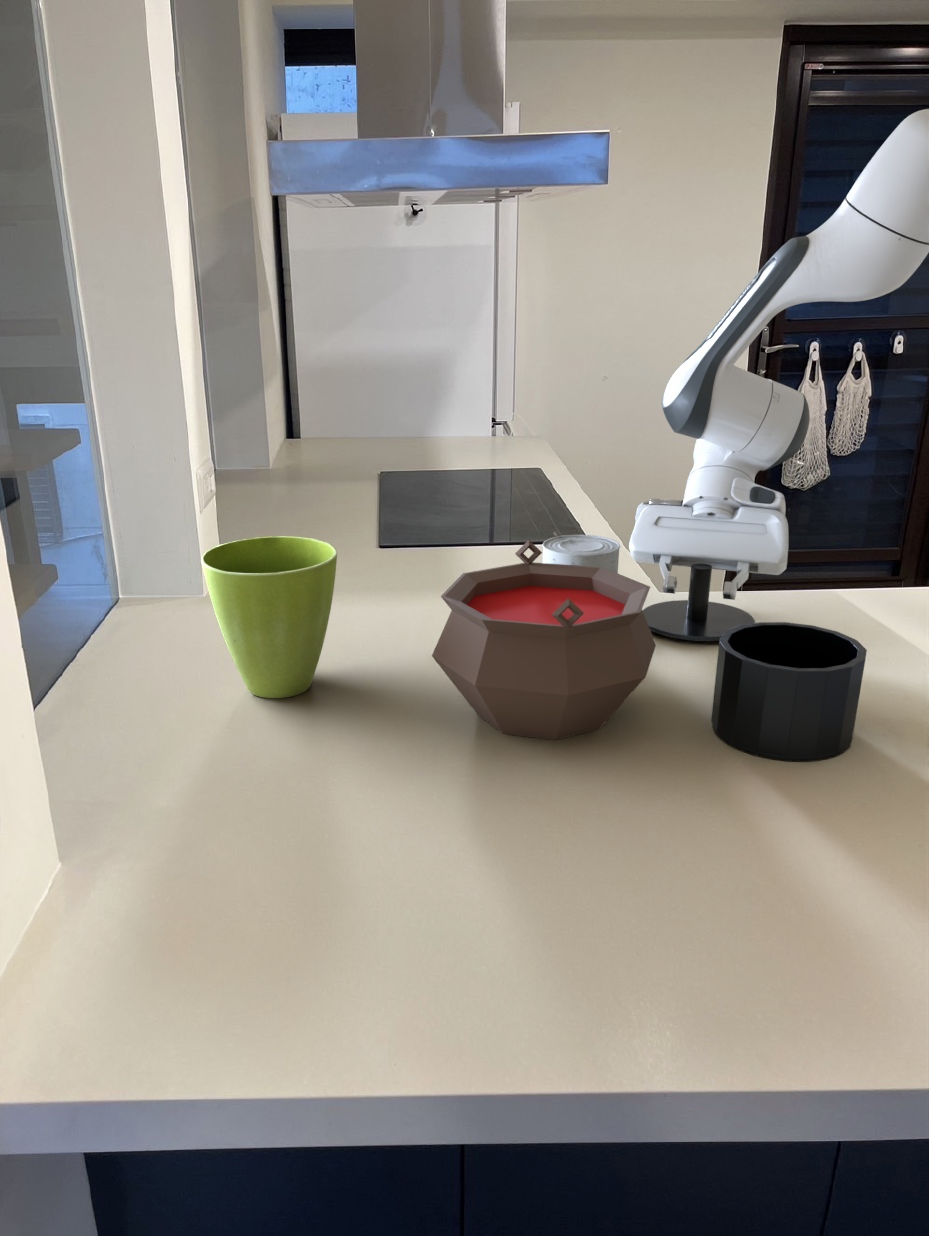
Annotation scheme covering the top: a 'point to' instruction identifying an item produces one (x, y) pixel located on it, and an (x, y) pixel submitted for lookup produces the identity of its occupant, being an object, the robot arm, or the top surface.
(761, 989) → the top surface
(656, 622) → the lid
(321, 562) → the flower pot
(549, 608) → the brown cauldron
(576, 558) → the tin can
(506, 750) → the top surface
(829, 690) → the pot
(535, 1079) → the top surface
